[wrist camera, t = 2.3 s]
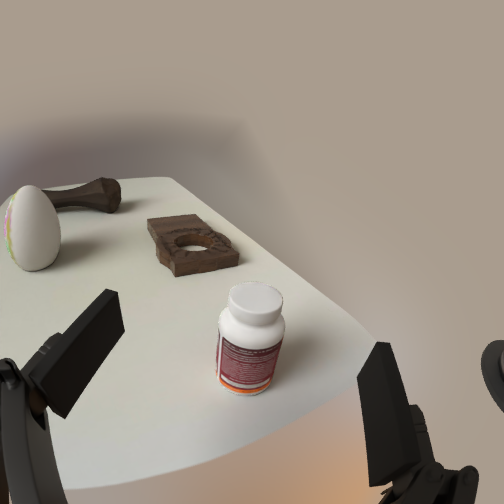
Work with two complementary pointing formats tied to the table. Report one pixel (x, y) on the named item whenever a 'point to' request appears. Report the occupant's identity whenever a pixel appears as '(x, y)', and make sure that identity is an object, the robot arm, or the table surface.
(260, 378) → the pill bottle
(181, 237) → the plate
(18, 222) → the decorative egg
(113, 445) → the table surface
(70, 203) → the dark brown bone
